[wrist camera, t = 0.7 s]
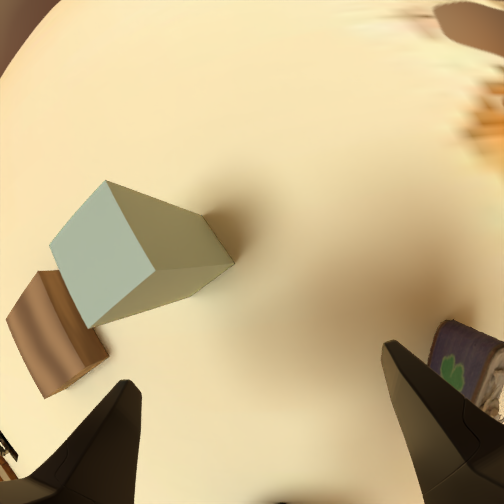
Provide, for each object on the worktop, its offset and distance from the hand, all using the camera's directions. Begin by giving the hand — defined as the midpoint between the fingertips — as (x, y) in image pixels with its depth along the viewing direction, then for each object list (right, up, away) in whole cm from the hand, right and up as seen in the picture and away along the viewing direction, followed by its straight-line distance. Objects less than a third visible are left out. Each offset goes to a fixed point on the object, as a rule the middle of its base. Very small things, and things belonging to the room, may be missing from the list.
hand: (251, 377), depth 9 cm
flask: (+17, -6, +12) cm, 21 cm away
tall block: (-5, +4, +16) cm, 17 cm away
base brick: (-22, -6, +19) cm, 30 cm away
